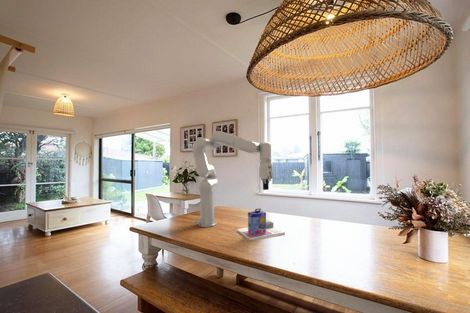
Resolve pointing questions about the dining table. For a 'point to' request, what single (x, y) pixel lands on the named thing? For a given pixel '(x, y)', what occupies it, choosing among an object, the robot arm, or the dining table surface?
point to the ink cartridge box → (256, 222)
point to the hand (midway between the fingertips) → (265, 189)
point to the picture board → (269, 232)
